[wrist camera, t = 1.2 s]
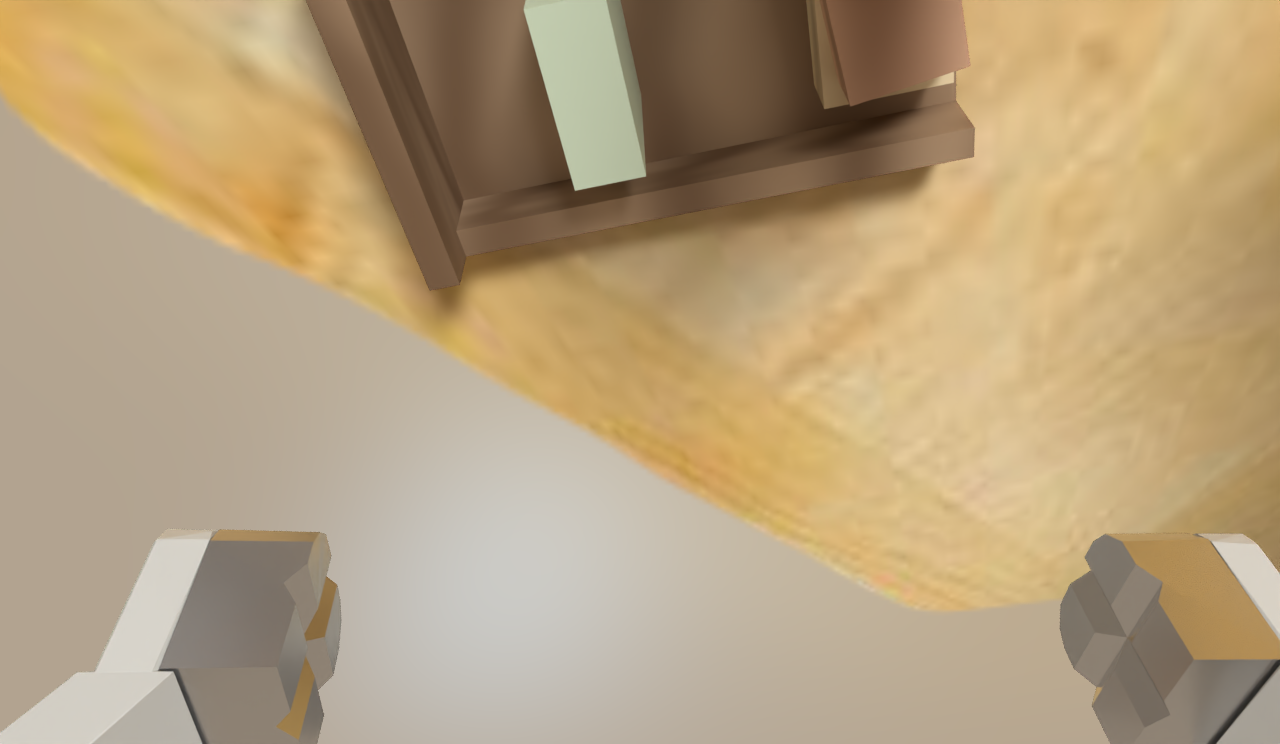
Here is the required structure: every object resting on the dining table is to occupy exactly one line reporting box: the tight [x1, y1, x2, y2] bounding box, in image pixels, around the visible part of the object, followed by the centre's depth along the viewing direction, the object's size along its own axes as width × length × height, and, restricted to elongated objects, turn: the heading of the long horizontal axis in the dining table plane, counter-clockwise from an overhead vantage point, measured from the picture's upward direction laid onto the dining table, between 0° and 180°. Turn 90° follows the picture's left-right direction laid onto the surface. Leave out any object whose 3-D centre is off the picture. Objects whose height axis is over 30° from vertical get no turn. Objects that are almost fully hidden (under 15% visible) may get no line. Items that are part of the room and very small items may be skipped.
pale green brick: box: [524, 0, 646, 191], centre depth 31 cm, size 2×6×6 cm, turn 12°
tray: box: [306, 0, 975, 290], centre depth 32 cm, size 21×14×5 cm, turn 102°
